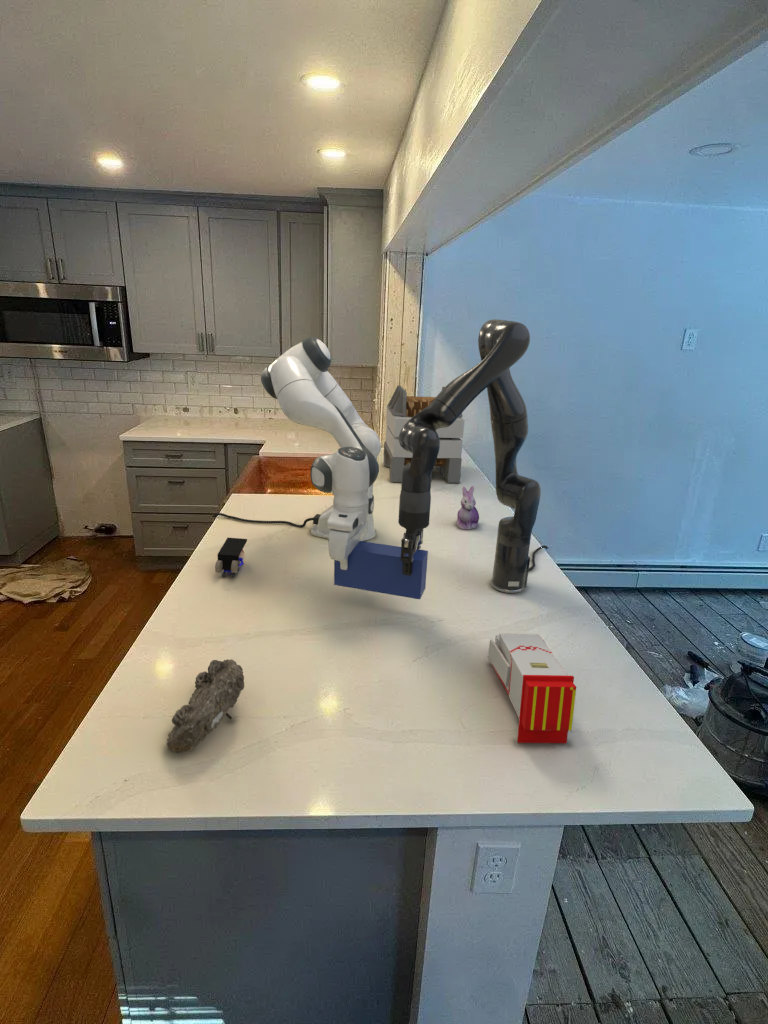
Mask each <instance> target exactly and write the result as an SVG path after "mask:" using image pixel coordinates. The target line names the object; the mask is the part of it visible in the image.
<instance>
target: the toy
mask: <svg viewBox="0 0 768 1024" xmlns="http://www.w3.org/2000/svg"><path fill="white" fill-rule="evenodd" d="M487 659H488V661H489V662H490V663H491V666H492V668H493V670H494V671H495V673H496V676H497V678H498V679H499V681H500V682H501V685H502V686H503V689H504V690H505V692H506V694H507V695H508V698H509V700H510V702H511V705H512V706H513V708H514V711H515V713H516V715H517V717H518V728H517V741H516V742H517V743H518V744H567V743H568V734H569V732H570V731H573V720H574V711H575V704H576V696H577V695H576V694H577V686H576V685H575V683H574V681H575V676H574V675H569V674H568V673H567V671H566V670H565V669H564V667H563V666H562V664H560V662H559V661H558V659H557V657H556V656H555V655H554V653H553V651H552V650H551V649H550V648H549V646H548V644H547V643H546V641H545V639H543V638H542V636H541V635H540V633H503V632H501V633H499V634H496V635H495V639H494V640H493V639H489V644H488V652H487Z"/></svg>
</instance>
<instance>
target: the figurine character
mask: <svg viewBox="0 0 768 1024" xmlns="http://www.w3.org/2000/svg"><path fill="white" fill-rule="evenodd" d="M247 542H248V538H240V537H226V539H225V541H224V543H223V544H222V546H221V547H220V549H219V551H218V552H217V560H216V562H215V564H214V572H215V573H221V577H222V578H224V577H225V576H226V574H227V573H230V574H231V573H232V574H231V578H234V577H235V575H236V573H237V572H239V571H240V567H242V566H243V565H244V564H245V562H244V558H245V551H244V547H245V546H246V544H247Z"/></svg>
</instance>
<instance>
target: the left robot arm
mask: <svg viewBox="0 0 768 1024" xmlns="http://www.w3.org/2000/svg"><path fill="white" fill-rule="evenodd" d="M331 364H332V357H331V352H330V351H329V348H328V347H327V345H326V344H325V343H324V342H323V341H322V340H320V339H319V338H318V337H316V336H309V337H306V338H304V339H302V340H301V342H299V343H297V344H295V345H293V346H291V347H290V348H289V349H287V350H285V351H284V352H283V353H282V354H281V355H280V356H279V357H277V358H276V359H275V360H274V361H273V362H272V363H271V364H270V365H267V366H266V367H265V368H264V369H263V370H262V372H261V375H260V382H261V384H262V386H263V388H264V390H265V392H266V393H267V394H268V395H269V396H270V397H272V398H273V399H275V400H277V402H278V405H279V407H280V409H281V410H282V412H283V414H284V415H285V416H286V418H288V420H290V421H291V422H293V423H295V424H296V425H297V424H298V425H301V426H306V427H311V428H316V429H318V430H321V431H325V432H326V433H328V434H330V435H331V436H332V437H333V438H334V441H336V443H337V445H338V446H339V448H338V449H337V450H335V452H333V453H329V454H324V455H321V456H317V457H316V458H315V459H314V460H313V461H312V464H311V467H310V472H309V476H310V482H311V483H312V486H314V488H315V489H317V490H318V491H319V492H322V493H326V494H331V495H333V499H332V505H331V506H329V507H328V508H326V509H325V510H323V512H321V513H316V514H315V515H314V516H313V517H309V518H306V519H305V520H304V521H303V523H302V524H297V523H294V522H292V521H288V520H259V519H258V520H257V519H256V520H255V519H246V518H241V517H237V516H232V515H228V514H225V513H222V512H216V513H214V514H213V515H212V518H217V517H218V516H220V517H224V518H228V519H231V520H236V521H240V522H244V523H252V524H285V525H288V526H289V525H290V526H293V527H295V528H305V527H306V525H307V523H308V522H311V521H312V525H313V526H312V528H311V530H310V533H311V536H315V537H319V538H323V539H326V540H328V555H329V558H330V559H331V560H332V561H334V560H337V561H340V568H341V569H342V570H347V568H348V567H349V562H348V559H347V558H348V555H349V554H350V553H351V552H352V550H353V549H354V548H355V546H356V545H357V544H358V543H359V542H360V541H365V542H366V541H368V540H372V539H373V538H375V537H376V535H377V532H376V528H375V523H374V513H373V512H374V509H375V496H374V483H375V482H376V480H377V478H378V476H379V471H380V466H379V462H378V456H379V455H380V453H381V450H382V442H381V440H380V437H379V435H378V433H377V432H376V430H374V429H372V428H371V427H370V426H369V425H367V424H366V423H365V422H364V420H363V419H362V417H361V416H360V414H359V413H358V411H357V410H356V408H355V405H354V404H353V403H352V401H351V399H350V398H349V397H348V395H347V394H346V392H345V391H344V390H343V388H342V387H341V386H340V384H339V383H338V382H337V381H336V379H335V377H334V376H333V375H332V374H331V373H330V372H329V368H330V366H331Z"/></svg>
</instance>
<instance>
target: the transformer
mask: <svg viewBox="0 0 768 1024" xmlns="http://www.w3.org/2000/svg"><path fill="white" fill-rule="evenodd" d="M445 387H446V386H442V387H441V391H442V390H443V389H444V388H445ZM407 394H408V393H407V390H406V389H404V388H403V387H402V385H399V384H398V385H397V386H396V388H395V390H394V392H393V394H392V395H391V398H390V400H389V402H388V404H387V405H386V413H385V414H386V415H385V423H386V428H385V438H384V442H383V466H384V467H388V468H389V475H388V476H389V477H388V478H389V480H390V482H391V483H402V471H403V467H404V466H405V465H406V464H409V463H411V461H412V456H413V453H411V452H408V451H406V450H404V449H403V448H402V447H401V446H400V444H399V434H400V431H401V429H402V428H403V426H404V425H405V424H406V423H407V422H408V421H409V420H410V419H411V418H412V417H414V416H415V415H416V414H418V413H419V412H420V411H422V410H423V409H425V408H426V407H428V406H429V405H430V404H431V402H432V401H433V400H434V399H435V398H436V397H437V396H415V395H414V396H413V395H412V396H411V395H407ZM464 429H465V419H464V418H463V413H462V414H461V415H460V416H459V417H458V418H457V419H456V420H455V422H454V423H453V424H452V425H451V426H449V427H446V428H439V429H437V430H436V432H437V434H438V436H439V440H440V448H439V453H438V456H437V459H436V462H435V466H434V467H436V468H437V470H438V469H439V473H440V474H441V475H443V478H444V479H445V481H446V482H447V483H449V484H455V483H456V484H459V483H461V472H462V461H463V460H462V453H463V442H464V441H463V440H462V439H463V438H464V431H465V430H464Z"/></svg>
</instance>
